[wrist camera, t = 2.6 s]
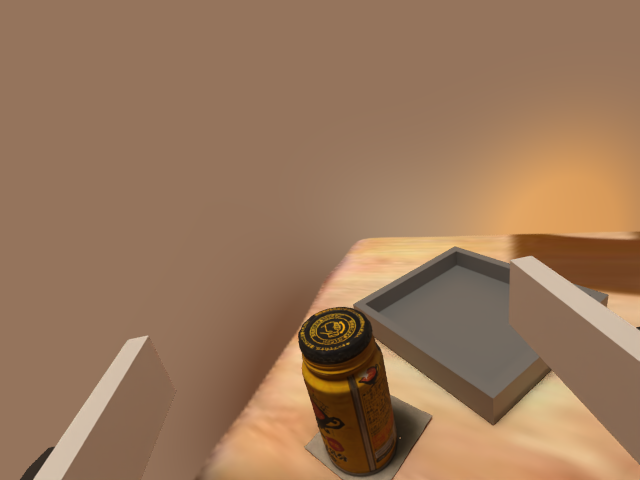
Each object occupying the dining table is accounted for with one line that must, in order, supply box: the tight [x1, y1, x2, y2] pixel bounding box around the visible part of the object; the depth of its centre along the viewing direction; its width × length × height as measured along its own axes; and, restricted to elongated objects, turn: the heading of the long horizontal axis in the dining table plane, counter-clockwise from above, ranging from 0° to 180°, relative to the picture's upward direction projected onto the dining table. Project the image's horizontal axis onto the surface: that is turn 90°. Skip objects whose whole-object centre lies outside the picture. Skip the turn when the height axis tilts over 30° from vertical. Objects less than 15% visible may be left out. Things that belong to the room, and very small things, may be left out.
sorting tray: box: [353, 247, 608, 425], centre depth 38 cm, size 18×18×3 cm
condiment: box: [298, 307, 432, 480], centre depth 27 cm, size 7×8×12 cm
